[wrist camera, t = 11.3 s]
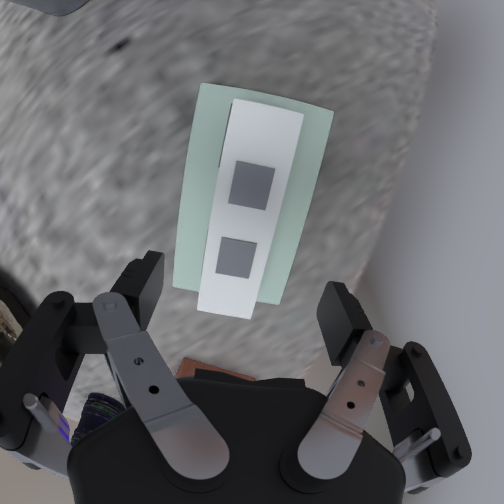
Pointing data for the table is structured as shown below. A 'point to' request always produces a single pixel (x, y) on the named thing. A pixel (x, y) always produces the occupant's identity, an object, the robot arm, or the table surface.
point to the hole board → (205, 178)
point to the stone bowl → (10, 322)
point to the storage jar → (96, 414)
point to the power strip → (246, 205)
